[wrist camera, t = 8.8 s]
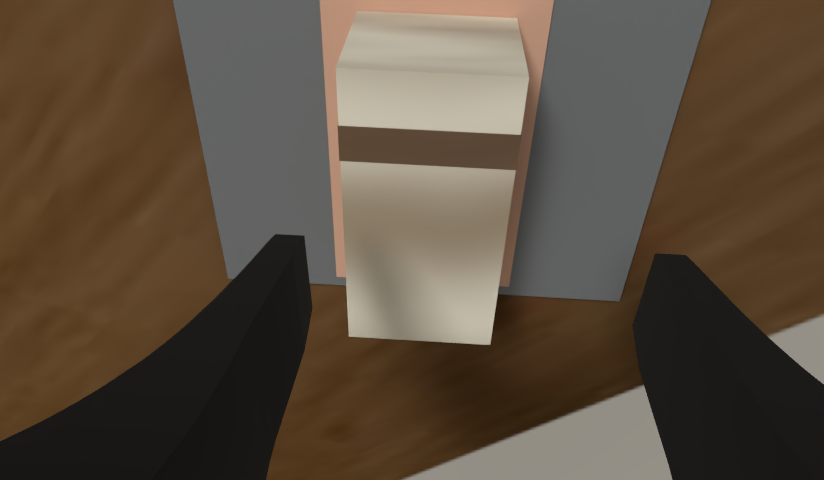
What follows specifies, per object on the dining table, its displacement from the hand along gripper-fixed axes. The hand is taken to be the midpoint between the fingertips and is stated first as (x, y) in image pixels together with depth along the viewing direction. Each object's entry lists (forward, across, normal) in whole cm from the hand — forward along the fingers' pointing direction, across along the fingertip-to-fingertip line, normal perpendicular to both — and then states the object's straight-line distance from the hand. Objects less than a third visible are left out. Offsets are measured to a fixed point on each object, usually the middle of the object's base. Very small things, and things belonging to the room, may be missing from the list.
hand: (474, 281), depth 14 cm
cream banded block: (+8, +1, +2) cm, 8 cm away
